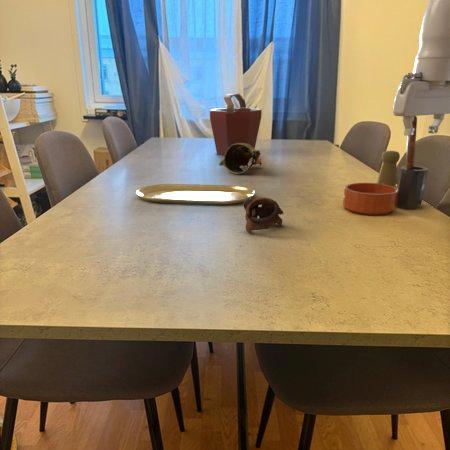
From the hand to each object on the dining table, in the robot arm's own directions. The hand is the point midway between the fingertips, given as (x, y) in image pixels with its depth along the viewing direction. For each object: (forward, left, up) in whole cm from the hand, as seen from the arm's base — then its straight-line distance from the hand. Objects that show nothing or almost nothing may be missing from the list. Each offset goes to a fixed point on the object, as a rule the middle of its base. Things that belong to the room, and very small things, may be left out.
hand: (420, 134), depth 109 cm
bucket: (+45, -91, -19) cm, 103 cm away
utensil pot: (0, 0, -18) cm, 18 cm away
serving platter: (+58, -11, -19) cm, 62 cm away
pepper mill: (-2, -22, -19) cm, 29 cm away
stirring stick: (0, 0, -17) cm, 17 cm away
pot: (+42, -47, -19) cm, 66 cm away
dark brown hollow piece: (+41, +19, -19) cm, 49 cm away
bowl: (+11, +3, -18) cm, 22 cm away
